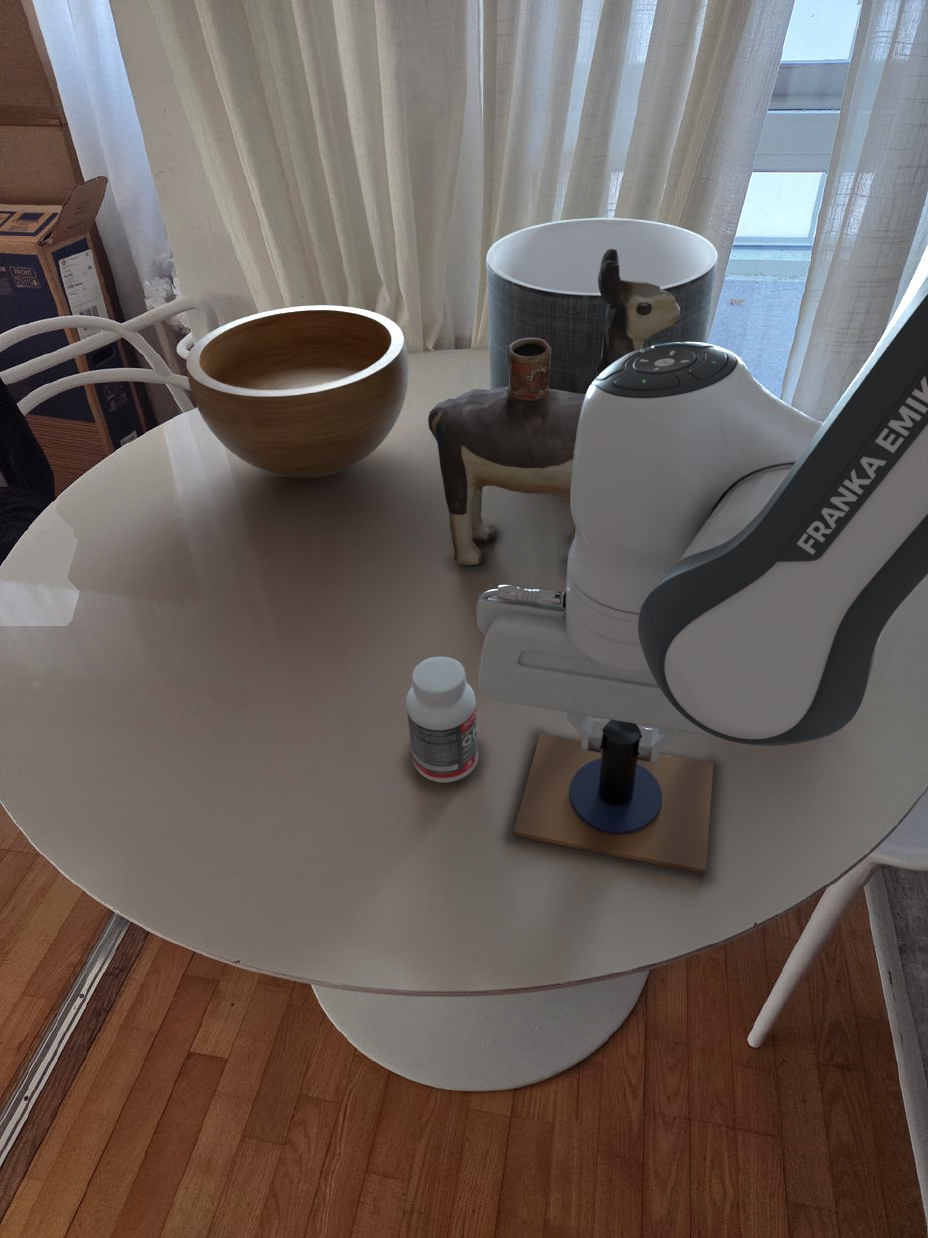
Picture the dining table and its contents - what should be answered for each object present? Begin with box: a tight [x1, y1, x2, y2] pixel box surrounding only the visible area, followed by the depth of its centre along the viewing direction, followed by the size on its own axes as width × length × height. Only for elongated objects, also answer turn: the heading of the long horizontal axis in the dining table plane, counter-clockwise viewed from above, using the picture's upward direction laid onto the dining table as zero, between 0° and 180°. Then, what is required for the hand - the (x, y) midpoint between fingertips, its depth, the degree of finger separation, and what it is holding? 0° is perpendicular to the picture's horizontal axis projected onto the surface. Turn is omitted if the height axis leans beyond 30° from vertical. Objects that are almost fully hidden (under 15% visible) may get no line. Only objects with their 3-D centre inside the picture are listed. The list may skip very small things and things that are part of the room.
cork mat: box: [513, 733, 715, 875], centre depth 66 cm, size 14×10×1 cm
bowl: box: [185, 305, 410, 479], centre depth 102 cm, size 25×25×15 cm
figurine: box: [427, 249, 680, 567], centre depth 82 cm, size 10×23×30 cm, turn 82°
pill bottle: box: [405, 656, 479, 784], centre depth 67 cm, size 5×5×10 cm
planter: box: [485, 217, 719, 394], centre depth 103 cm, size 25×25×22 cm
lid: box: [569, 720, 662, 835], centre depth 63 cm, size 7×7×8 cm
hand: (620, 749), depth 62 cm, fingers closed on lid, 3 cm apart
